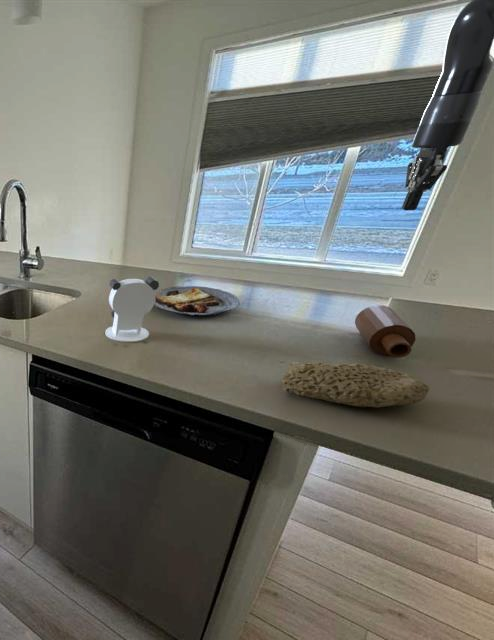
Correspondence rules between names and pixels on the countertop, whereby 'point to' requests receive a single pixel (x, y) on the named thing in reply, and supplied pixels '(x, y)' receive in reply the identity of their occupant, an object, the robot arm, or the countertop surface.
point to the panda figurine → (130, 308)
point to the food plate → (195, 300)
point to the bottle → (385, 331)
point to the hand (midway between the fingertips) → (408, 209)
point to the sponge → (354, 384)
